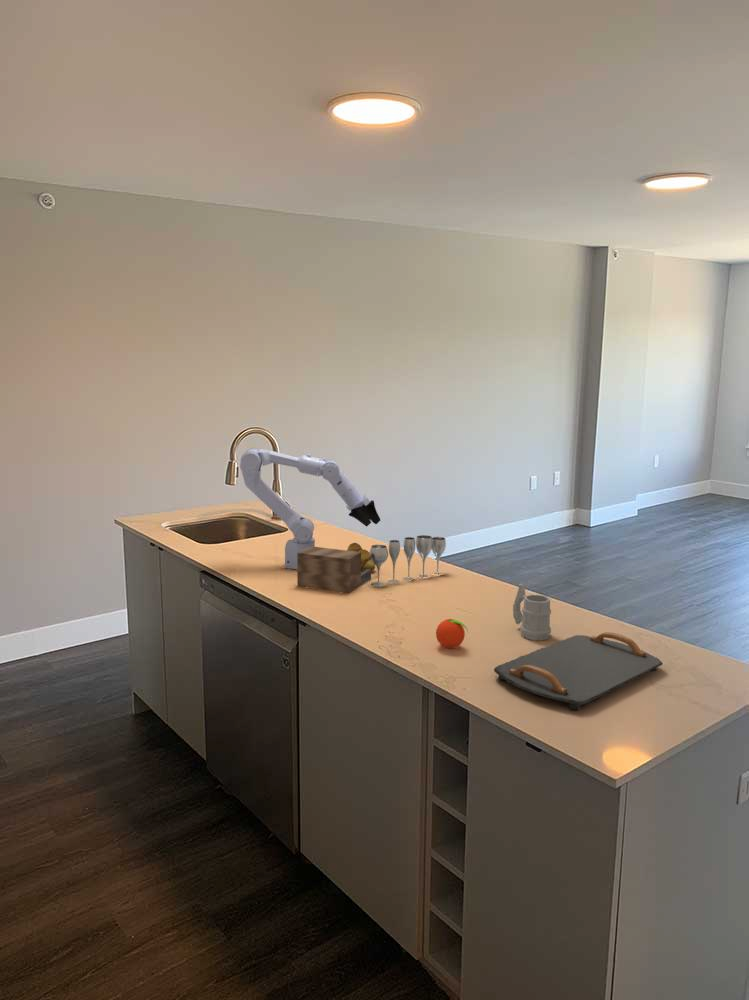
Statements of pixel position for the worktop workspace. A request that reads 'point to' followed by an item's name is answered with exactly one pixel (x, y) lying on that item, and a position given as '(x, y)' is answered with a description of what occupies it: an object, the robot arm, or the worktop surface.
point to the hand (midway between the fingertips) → (373, 523)
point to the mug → (532, 615)
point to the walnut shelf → (330, 569)
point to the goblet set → (407, 553)
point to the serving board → (578, 668)
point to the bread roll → (362, 557)
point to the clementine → (450, 633)
